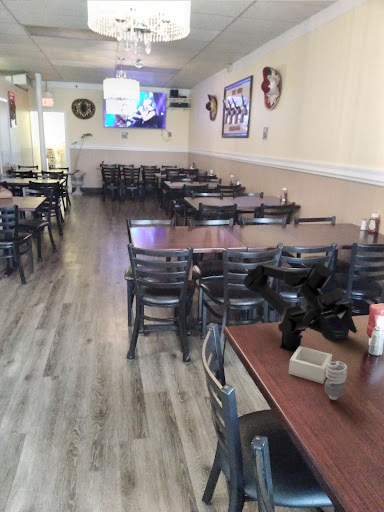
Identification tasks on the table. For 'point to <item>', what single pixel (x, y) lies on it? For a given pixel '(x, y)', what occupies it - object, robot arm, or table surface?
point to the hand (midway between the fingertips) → (345, 335)
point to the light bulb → (335, 379)
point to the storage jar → (338, 325)
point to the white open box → (309, 364)
